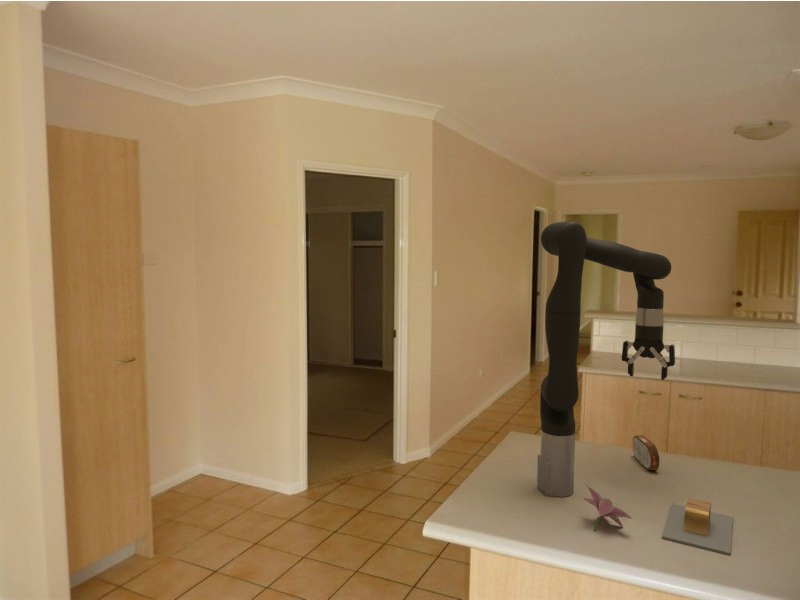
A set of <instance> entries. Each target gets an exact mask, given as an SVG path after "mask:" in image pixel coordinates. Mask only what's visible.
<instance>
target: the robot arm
mask: <svg viewBox="0 0 800 600" xmlns="http://www.w3.org/2000/svg"><path fill="white" fill-rule="evenodd" d="M540 242H541V246H542V247H543V248H542V249H544V250H545V252H546V253H548V254H550V255H552V256H557V257H558V258H557V259H558V261H557V262H558V263H557V275H556V278H555V281H554V283H553V285H552V288H551V290H550V293H549V294H548V296H547V298H546V303H545V311H544V312H545V314H544V326H545V329H544V330H545V338H546V339H545V340H546V346H547V351H548V370H547V371H548V373H547V375H546V376H545V377H544V379H542V382H541V384H540V397H539V399H540V402H539V404H540V405H539V408H540V409H539V410H540V411H539V412H540V413H539V414H540V424H541V427H540V428H541V429H540V431H541V432H540V434H541V435H540V454H538V455H537V476H536V481H537V482H536V487H537V488H538V489H539V490H540V491H541V492H542V493H543V494H544V495H545V496H546V497H547V496H552V497H558V498H559V497H561V498H562V497H563V498H564V497H569V496H571V495H573V494H574V488H575V457H576V456H575V455H576V454H575V452H576V451H575V450H576V419H575V415H574V407H575V405H576V404H577V402H578V399H579V394H580V393H579V390H580V389H579V382H578V354H579V353H578V352H579V342H580V341H579V340H580V330H581V329H580V328H581V327H580V326H581V309H582V308H581V303H582V302H581V301H582V300H581V298H582V287H583V286H582V284H583V281H582V280H583V270H584V266H585V265H584V264H585V260H587V261H590V262H594V263H596V264H599V265H602V266H606V267H609V268H611V269H615V270H619V271H621V272H626V273H632V275H633V279H634V284H635V289H636V292H637V299H636V312H635V325H634V330H635V332H634V341H629V340H625V341H623V343H622V352H621V361H622V362H625V363H627V374H628V375H629V377H632V378H633V377H634V371H635V363H634V362H635V361H636V359H638V358H639V357H641V358H648V359H656V360H657V361H658V362H659V363H660V365H661V371H660V372H661V375H660V377H661V378H660V380H661V381H665V379H667V377H668V371H669V370H668V367H674V366H675V364H676V349H675V344H665V343H664V324H665V319H664V317H665V316H664V314H665V313H664V299H665V298H664V296H665V292H664V291H663V289H661V288H660V287H658V286H657V285H656V284H655V283H656V282H655V280H658V281H659V280H663V279H665V278H667V277H668V276H669V275H670V274H671V271H672V263H671V261H670V260H669V258H667V257H666V256H664V255H662V254H659V253H655V252H650V251H644V250H639V249H637V248H634V247H631V246H629V245H624V244H622V243H618V242H613V241H608V240H603V239H599V238H598V239H597V238H593V237H588V236H587V232H586V229H585V228H584V226H583V224H581V223H580V222H577V221H557V222H553V223H551V224H550V223H549V224H548V225H547V226H546V227H545V228H544V229H543V230H542V233H541V235H540ZM632 347H633V348H634V350H635V351H636V352H635V353H634V354H633V355H632V356H631V357H628V354H629V349H632ZM664 350H665V351H666V352H667V353H668V354H669V355H668V356H669V357H668V359H669V361H667V360H666V358H665V357H664V355H663V353H662V351H664Z"/></svg>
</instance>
